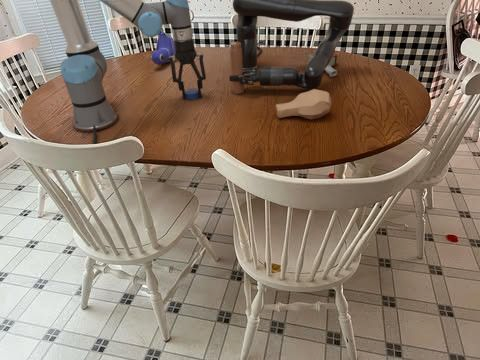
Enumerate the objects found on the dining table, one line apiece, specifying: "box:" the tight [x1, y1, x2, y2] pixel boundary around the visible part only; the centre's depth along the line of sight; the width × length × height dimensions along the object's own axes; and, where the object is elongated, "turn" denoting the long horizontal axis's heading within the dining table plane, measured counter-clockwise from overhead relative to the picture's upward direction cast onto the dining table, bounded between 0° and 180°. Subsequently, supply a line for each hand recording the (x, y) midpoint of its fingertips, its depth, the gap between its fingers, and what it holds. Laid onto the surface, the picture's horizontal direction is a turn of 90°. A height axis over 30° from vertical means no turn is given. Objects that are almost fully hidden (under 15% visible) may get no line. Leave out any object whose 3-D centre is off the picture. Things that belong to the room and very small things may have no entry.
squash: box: [274, 88, 332, 120], centre depth 126 cm, size 11×20×9 cm, turn 92°
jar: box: [229, 41, 245, 95], centre depth 144 cm, size 5×5×20 cm
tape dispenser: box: [308, 51, 338, 78], centre depth 165 cm, size 18×5×20 cm
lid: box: [185, 88, 200, 101], centre depth 148 cm, size 6×6×2 cm
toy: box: [150, 31, 175, 69], centre depth 181 cm, size 10×17×25 cm
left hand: (192, 96), depth 148 cm, fingers open, 6 cm apart
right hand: (231, 76), depth 147 cm, fingers closed on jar, 4 cm apart
